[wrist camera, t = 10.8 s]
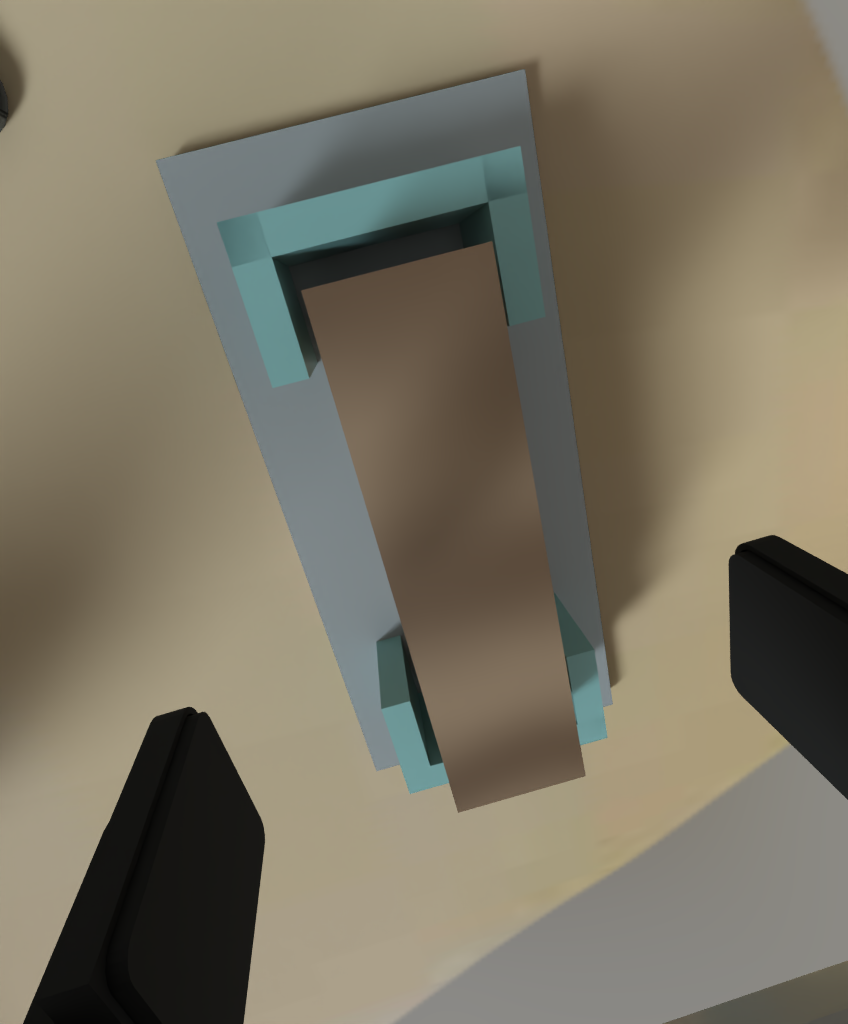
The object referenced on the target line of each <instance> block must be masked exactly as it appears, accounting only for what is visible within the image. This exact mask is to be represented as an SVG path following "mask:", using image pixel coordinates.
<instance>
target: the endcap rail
mask: <svg viewBox="0 0 848 1024" xmlns="http://www.w3.org/2000/svg"><path fill="white" fill-rule="evenodd" d="M156 163H157V166H158V168H159V171H160V174H161V177H162V179H163V182H164V185H165V188H166V190H167V193H168V196H169V199H170V201H171V204H172V207H173V210H174V212H175V215H176V218H177V221H178V224H179V226H180V229H181V232H182V235H183V237H184V240H185V243H186V246H187V248H188V251H189V254H190V257H191V259H192V262H193V265H194V268H195V271H196V273H197V276H198V279H199V282H200V284H201V287H202V290H203V293H204V295H205V298H206V301H207V304H208V306H209V309H210V312H211V315H212V317H213V320H214V323H215V326H216V329H217V331H218V334H219V337H220V340H221V342H222V345H223V348H224V351H225V353H226V356H227V359H228V362H229V364H230V367H231V370H232V373H233V375H234V378H235V381H236V384H237V387H238V389H239V392H240V395H241V398H242V400H243V403H244V406H245V409H246V411H247V414H248V417H249V420H250V422H251V425H252V428H253V431H254V433H255V436H256V439H257V442H258V445H259V447H260V450H261V453H262V456H263V458H264V461H265V464H266V467H267V469H268V472H269V475H270V478H271V480H272V483H273V486H274V489H275V492H276V494H277V497H278V500H279V503H280V505H281V508H282V511H283V514H284V516H285V519H286V522H287V525H288V527H289V530H290V533H291V536H292V538H293V541H294V544H295V547H296V550H297V552H298V555H299V558H300V561H301V563H302V566H303V569H304V572H305V574H306V577H307V580H308V583H309V585H310V588H311V591H312V594H313V596H314V599H315V602H316V605H317V608H318V610H319V613H320V616H321V619H322V621H323V624H324V627H325V630H326V632H327V635H328V638H329V641H330V643H331V646H332V649H333V652H334V654H335V657H336V660H337V663H338V666H339V668H340V671H341V674H342V677H343V679H344V682H345V685H346V688H347V690H348V693H349V696H350V699H351V701H352V704H353V707H354V710H355V713H356V715H357V718H358V721H359V724H360V726H361V729H362V732H363V735H364V737H365V740H366V743H367V746H368V748H369V751H370V754H371V757H372V759H373V762H374V765H375V768H376V771H379V770H382V769H386V768H389V767H393V766H396V765H400V766H401V769H402V772H403V775H404V778H405V781H406V784H407V787H408V790H409V792H410V794H411V793H415V792H418V791H422V790H425V789H429V788H432V787H436V786H439V785H443V784H446V783H449V780H448V777H447V774H446V770H445V767H444V764H443V760H442V757H441V754H440V750H439V747H438V744H437V740H436V737H435V734H434V730H433V727H432V724H431V720H430V717H429V714H428V711H427V707H426V704H425V701H424V697H423V694H422V691H421V687H420V684H419V681H418V677H417V674H416V671H415V667H414V664H413V661H412V657H411V654H410V651H409V647H408V644H407V641H406V637H405V634H404V631H403V628H402V624H401V621H400V618H399V614H398V611H397V608H396V604H395V601H394V598H393V594H392V591H391V588H390V584H389V581H388V578H387V574H386V571H385V568H384V564H383V561H382V558H381V554H380V551H379V548H378V545H377V541H376V538H375V535H374V531H373V528H372V525H371V521H370V518H369V515H368V511H367V508H366V505H365V501H364V498H363V495H362V491H361V488H360V485H359V481H358V478H357V475H356V471H355V468H354V465H353V462H352V458H351V455H350V452H349V448H348V445H347V442H346V438H345V435H344V432H343V428H342V425H341V422H340V418H339V415H338V412H337V408H336V405H335V402H334V398H333V395H332V392H331V388H330V385H329V382H328V379H327V375H326V372H325V369H324V365H323V362H322V359H321V355H320V352H319V349H318V345H317V342H316V339H315V335H314V332H313V329H312V325H311V322H310V319H309V315H308V312H307V309H306V305H305V302H304V299H303V295H302V292H301V290H305V289H309V288H313V287H316V286H320V285H324V284H328V283H332V282H336V281H340V280H344V279H347V278H351V277H355V276H359V275H363V274H367V273H371V272H375V271H378V270H382V269H386V268H390V267H394V266H398V265H402V264H405V263H409V262H413V261H417V260H421V259H425V258H429V257H433V256H436V255H440V254H444V253H448V252H452V251H456V250H460V249H464V248H467V247H471V246H475V245H479V244H483V243H487V242H491V241H492V242H493V248H494V254H495V259H496V265H497V271H498V276H499V282H500V288H501V294H502V299H503V305H504V311H505V317H506V322H507V328H508V334H509V340H510V345H511V351H512V357H513V363H514V368H515V374H516V380H517V386H518V391H519V397H520V403H521V408H522V414H523V420H524V426H525V431H526V437H527V443H528V449H529V454H530V460H531V466H532V472H533V477H534V483H535V489H536V495H537V500H538V506H539V512H540V517H541V523H542V529H543V535H544V540H545V546H546V552H547V558H548V563H549V569H550V575H551V581H552V586H553V592H554V598H555V604H556V609H557V615H558V621H559V626H560V632H561V638H562V644H563V649H564V655H565V661H566V667H567V672H568V678H569V684H570V690H571V695H572V701H573V707H574V713H575V718H576V724H577V730H578V736H579V741H580V745H583V744H587V743H590V742H594V741H597V740H601V739H604V738H607V731H606V725H605V718H604V711H603V707H605V706H608V705H612V704H613V703H612V696H611V689H610V681H609V674H608V667H607V660H606V652H605V645H604V638H603V631H602V623H601V616H600V609H599V602H598V594H597V587H596V580H595V573H594V566H593V558H592V551H591V544H590V537H589V529H588V522H587V515H586V508H585V500H584V493H583V486H582V479H581V471H580V464H579V457H578V450H577V442H576V435H575V428H574V421H573V414H572V406H571V399H570V392H569V385H568V377H567V370H566V363H565V356H564V348H563V341H562V334H561V327H560V319H559V312H558V305H557V298H556V291H555V283H554V276H553V269H552V262H551V254H550V247H549V240H548V233H547V225H546V218H545V211H544V204H543V196H542V189H541V182H540V175H539V168H538V160H537V153H536V146H535V139H534V131H533V124H532V117H531V110H530V102H529V95H528V88H527V81H526V73H525V69H523V70H518V71H514V72H510V73H506V74H502V75H498V76H494V77H490V78H486V79H482V80H478V81H474V82H470V83H466V84H462V85H458V86H454V87H450V88H446V89H442V90H438V91H434V92H430V93H426V94H422V95H418V96H414V97H410V98H405V99H401V100H397V101H393V102H389V103H385V104H381V105H377V106H373V107H369V108H365V109H361V110H357V111H353V112H349V113H345V114H341V115H337V116H333V117H329V118H325V119H321V120H317V121H313V122H309V123H305V124H301V125H297V126H292V127H288V128H284V129H280V130H276V131H272V132H268V133H264V134H260V135H256V136H252V137H248V138H244V139H240V140H236V141H232V142H228V143H224V144H220V145H216V146H212V147H208V148H204V149H200V150H196V151H192V152H188V153H184V154H179V155H175V156H171V157H167V158H163V159H159V160H156Z"/></svg>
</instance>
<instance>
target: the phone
mask: <svg viewBox="0 0 848 1024" xmlns="http://www.w3.org/2000/svg"><path fill="white" fill-rule="evenodd" d="M7 116H8V99H7V95H6V92H5V89H4V86H3V83H2V81H1V80H0V132H1V130H2V129H3V128H4V126H5V123H6V120H7Z"/></svg>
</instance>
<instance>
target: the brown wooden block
mask: <svg viewBox="0 0 848 1024" xmlns="http://www.w3.org/2000/svg"><path fill="white" fill-rule="evenodd" d="M301 292H302V295H303V299H304V302H305V305H306V309H307V312H308V315H309V319H310V322H311V325H312V329H313V332H314V335H315V339H316V342H317V345H318V349H319V352H320V355H321V359H322V362H323V365H324V369H325V372H326V375H327V379H328V382H329V385H330V388H331V392H332V395H333V398H334V402H335V405H336V408H337V412H338V415H339V418H340V422H341V425H342V428H343V432H344V435H345V438H346V442H347V445H348V448H349V452H350V455H351V458H352V462H353V465H354V468H355V471H356V475H357V478H358V481H359V485H360V488H361V491H362V495H363V498H364V501H365V505H366V508H367V511H368V515H369V518H370V521H371V525H372V528H373V531H374V535H375V538H376V541H377V545H378V548H379V551H380V554H381V558H382V561H383V564H384V568H385V571H386V574H387V578H388V581H389V584H390V588H391V591H392V594H393V598H394V601H395V604H396V608H397V611H398V614H399V618H400V621H401V624H402V628H403V631H404V634H405V637H406V641H407V644H408V647H409V651H410V654H411V657H412V661H413V664H414V667H415V671H416V674H417V677H418V681H419V684H420V687H421V691H422V694H423V697H424V701H425V704H426V707H427V711H428V714H429V717H430V720H431V724H432V727H433V730H434V734H435V737H436V740H437V744H438V747H439V750H440V754H441V757H442V760H443V764H444V767H445V770H446V774H447V777H448V780H449V784H450V787H451V790H452V794H453V797H454V800H455V803H456V807H457V810H458V813H459V812H462V811H466V810H469V809H473V808H476V807H480V806H483V805H487V804H490V803H493V802H497V801H500V800H504V799H507V798H511V797H514V796H518V795H521V794H525V793H528V792H532V791H535V790H539V789H542V788H546V787H549V786H553V785H556V784H559V783H563V782H566V781H570V780H573V779H577V778H580V777H584V776H585V770H584V764H583V758H582V753H581V747H580V741H579V736H578V730H577V724H576V718H575V713H574V707H573V701H572V695H571V690H570V684H569V678H568V672H567V667H566V661H565V655H564V649H563V644H562V638H561V632H560V626H559V621H558V615H557V609H556V604H555V598H554V592H553V586H552V581H551V575H550V569H549V563H548V558H547V552H546V546H545V540H544V535H543V529H542V523H541V517H540V512H539V506H538V500H537V495H536V489H535V483H534V477H533V472H532V466H531V460H530V454H529V449H528V443H527V437H526V431H525V426H524V420H523V414H522V408H521V403H520V397H519V391H518V386H517V380H516V374H515V368H514V363H513V357H512V351H511V345H510V340H509V334H508V328H507V322H506V317H505V311H504V305H503V299H502V294H501V288H500V282H499V276H498V271H497V265H496V259H495V254H494V248H493V242H492V241H491V242H487V243H483V244H479V245H475V246H471V247H467V248H464V249H460V250H456V251H452V252H448V253H444V254H440V255H436V256H433V257H429V258H425V259H421V260H417V261H413V262H409V263H405V264H402V265H398V266H394V267H390V268H386V269H382V270H378V271H375V272H371V273H367V274H363V275H359V276H355V277H351V278H347V279H344V280H340V281H336V282H332V283H328V284H324V285H320V286H316V287H313V288H309V289H305V290H301Z"/></svg>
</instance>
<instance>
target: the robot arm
mask: <svg viewBox="0 0 848 1024" xmlns="http://www.w3.org/2000/svg"><path fill="white" fill-rule="evenodd" d="M729 607H730V659H731V678H732V681H733V683H734V686H735V688H736V689H737V691H738V692H739V693H740V694H741V696H742V697H743V698H744V699H745V700H746V701H747V702H748V703H749V704H750V705H752V706H753V707H754V708H755V709H756V710H757V711H758V712H759V713H760V714H761V715H762V716H763V717H764V718H765V719H766V720H767V721H768V722H769V723H770V724H771V725H772V726H773V727H774V728H775V729H776V730H777V731H778V732H779V733H780V734H781V735H782V736H783V737H784V738H785V739H786V740H787V741H788V742H789V743H790V744H791V745H792V746H794V748H796V749H797V750H798V751H799V752H800V753H801V754H802V755H803V756H804V757H805V758H806V759H807V760H808V761H809V762H810V763H811V764H812V765H813V766H814V767H815V768H816V769H817V770H818V771H819V772H820V773H821V774H822V775H823V776H824V777H825V778H826V779H827V780H828V781H829V782H830V783H831V784H832V785H833V786H834V787H835V788H836V789H837V790H838V791H839V792H841V794H842V795H844V796H845V797H846V798H847V799H848V574H846V573H845V572H843V571H841V570H839V569H837V568H835V567H834V566H832V565H830V564H828V563H826V562H824V561H823V560H821V559H819V558H817V557H815V556H813V555H812V554H810V553H808V552H806V551H804V550H802V549H800V548H799V547H797V546H795V545H793V544H791V543H789V542H788V541H786V540H784V539H782V538H780V537H778V536H775V535H770V536H766V537H763V538H759V539H756V540H752V541H749V542H746V543H742V544H740V545H739V546H738V547H737V548H736V550H735V555H732V556H731V557H730V559H729ZM264 845H265V833H264V827H263V823H262V820H261V818H260V816H259V814H258V812H257V810H256V808H255V806H254V804H253V802H252V800H251V798H250V796H249V794H248V792H247V790H246V788H245V786H244V784H243V782H242V780H241V778H240V776H239V774H238V772H237V770H236V768H235V766H234V764H233V762H232V760H231V758H230V756H229V754H228V752H227V751H226V749H225V747H224V745H223V743H222V741H221V739H220V737H219V735H218V733H217V731H216V729H215V727H214V725H213V723H212V721H211V719H210V717H209V716H208V714H207V713H205V712H201V713H197V712H196V710H195V709H194V708H192V707H186V708H183V709H180V710H176V711H173V712H169V713H166V714H163V715H159V716H156V717H155V718H153V720H152V722H151V723H150V725H149V728H148V730H147V733H146V735H145V737H144V740H143V742H142V745H141V747H140V749H139V752H138V754H137V757H136V759H135V761H134V764H133V766H132V769H131V771H130V773H129V776H128V778H127V781H126V783H125V785H124V788H123V790H122V793H121V795H120V797H119V800H118V802H117V805H116V807H115V809H114V812H113V814H112V817H111V819H110V821H109V823H108V825H107V827H106V828H105V830H104V832H103V834H102V837H101V839H100V842H99V844H98V846H97V849H96V851H95V853H94V856H93V858H92V861H91V863H90V865H89V868H88V870H87V873H86V875H85V877H84V880H83V882H82V884H81V887H80V889H79V892H78V894H77V896H76V899H75V901H74V903H73V906H72V908H71V911H70V913H69V915H68V918H67V920H66V923H65V925H64V927H63V930H62V932H61V934H60V937H59V939H58V942H57V944H56V946H55V949H54V951H53V953H52V956H51V958H50V961H49V963H48V965H47V968H46V970H45V973H44V975H43V977H42V980H41V982H40V984H39V987H38V989H37V992H36V994H35V996H34V999H33V1001H32V1003H31V1006H30V1008H29V1011H28V1013H27V1015H26V1018H25V1020H24V1023H23V1024H243V1023H244V1014H245V1006H246V998H247V989H248V981H249V972H250V964H251V955H252V947H253V938H254V930H255V922H256V913H257V905H258V896H259V888H260V879H261V871H262V862H263V854H264ZM664 1024H848V961H845V962H842V963H840V964H837V965H833V966H830V967H828V968H825V969H822V970H819V971H816V972H813V973H810V974H807V975H804V976H801V977H798V978H795V979H792V980H789V981H786V982H783V983H780V984H777V985H774V986H771V987H769V988H766V989H763V990H760V991H757V992H754V993H751V994H748V995H745V996H742V997H739V998H737V999H734V1000H731V1001H728V1002H725V1003H722V1004H719V1005H716V1006H713V1007H710V1008H707V1009H704V1010H701V1011H699V1012H696V1013H693V1014H690V1015H687V1016H684V1017H681V1018H678V1019H676V1020H672V1021H670V1022H666V1023H664Z"/></svg>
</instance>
